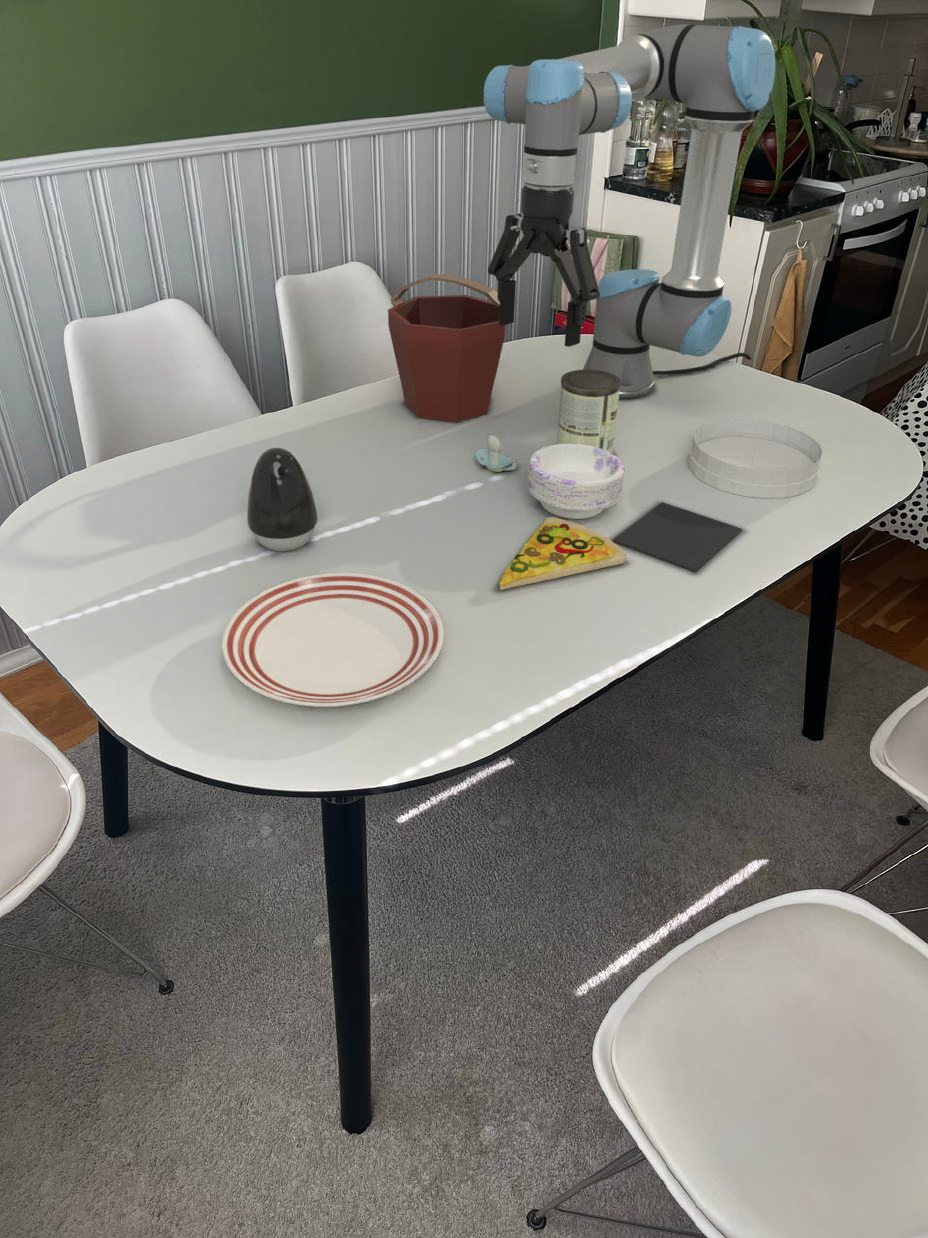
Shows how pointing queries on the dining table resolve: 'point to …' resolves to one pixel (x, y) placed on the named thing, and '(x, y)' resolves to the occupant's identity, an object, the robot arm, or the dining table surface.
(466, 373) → the bucket
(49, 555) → the dining table surface
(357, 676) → the dinner plate
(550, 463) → the paper bowls
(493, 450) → the pacifier
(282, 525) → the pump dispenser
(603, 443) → the coffee can
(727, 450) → the dish
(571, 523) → the pizza slice
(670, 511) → the placemat
